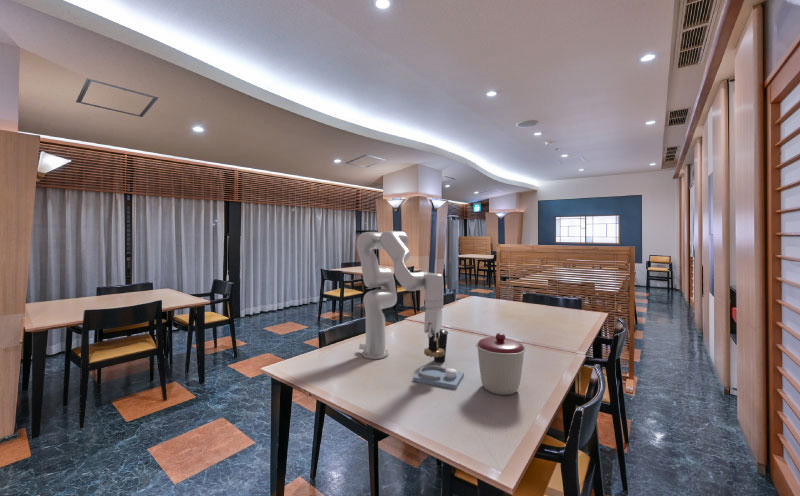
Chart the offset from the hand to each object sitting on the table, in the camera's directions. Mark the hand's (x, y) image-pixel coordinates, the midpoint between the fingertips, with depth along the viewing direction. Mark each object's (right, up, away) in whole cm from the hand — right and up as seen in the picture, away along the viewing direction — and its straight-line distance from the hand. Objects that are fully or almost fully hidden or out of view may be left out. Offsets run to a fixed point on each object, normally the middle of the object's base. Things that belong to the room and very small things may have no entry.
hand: (434, 348), depth 132 cm
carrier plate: (+2, -12, 0) cm, 12 cm away
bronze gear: (0, -2, 0) cm, 2 cm away
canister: (+24, -13, -10) cm, 29 cm away
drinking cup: (+4, -12, +19) cm, 22 cm away
